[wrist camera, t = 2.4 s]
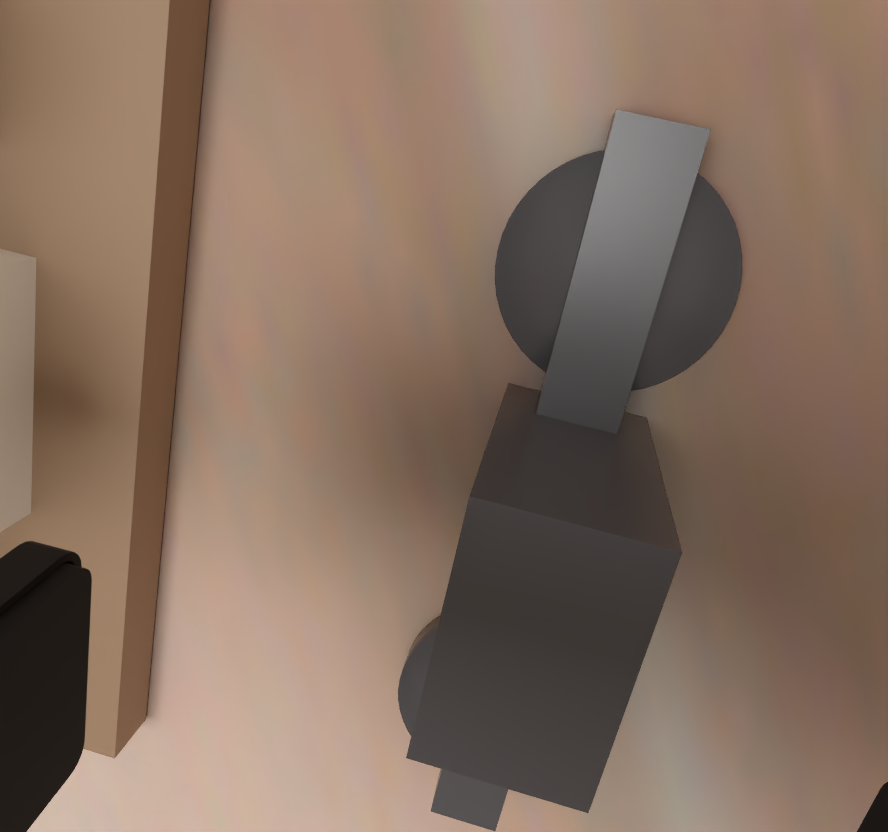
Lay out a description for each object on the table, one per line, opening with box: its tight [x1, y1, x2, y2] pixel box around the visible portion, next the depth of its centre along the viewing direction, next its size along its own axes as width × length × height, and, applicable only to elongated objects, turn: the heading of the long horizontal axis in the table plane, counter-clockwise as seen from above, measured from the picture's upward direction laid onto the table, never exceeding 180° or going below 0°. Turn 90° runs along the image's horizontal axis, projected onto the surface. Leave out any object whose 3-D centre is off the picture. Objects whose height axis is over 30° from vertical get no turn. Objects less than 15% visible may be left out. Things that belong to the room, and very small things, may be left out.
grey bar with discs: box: [398, 110, 742, 831], centre depth 14 cm, size 5×16×6 cm, turn 168°
